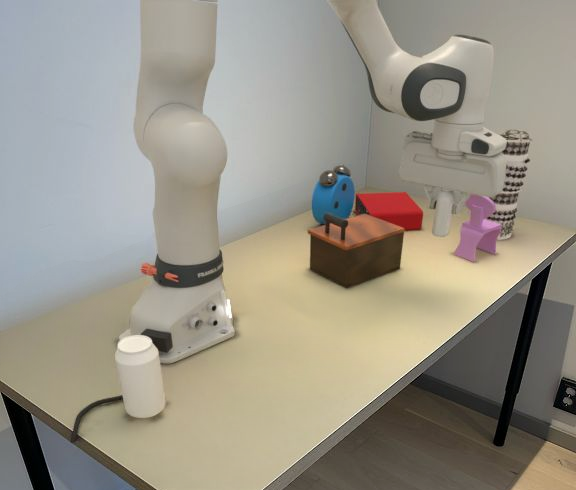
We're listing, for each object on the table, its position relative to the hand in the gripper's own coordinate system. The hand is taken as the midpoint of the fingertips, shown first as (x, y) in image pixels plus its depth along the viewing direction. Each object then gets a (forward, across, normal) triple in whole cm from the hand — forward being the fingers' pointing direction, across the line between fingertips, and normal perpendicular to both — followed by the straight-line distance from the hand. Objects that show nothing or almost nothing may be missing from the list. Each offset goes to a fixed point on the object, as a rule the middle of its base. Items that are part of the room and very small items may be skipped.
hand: (444, 210), depth 116 cm
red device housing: (+17, -29, +34) cm, 47 cm away
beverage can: (+18, -18, -66) cm, 70 cm away
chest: (+17, -19, 0) cm, 25 cm away
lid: (+8, -19, -1) cm, 21 cm away
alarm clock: (+17, -39, +22) cm, 48 cm away
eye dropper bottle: (+5, 0, 0) cm, 5 cm away
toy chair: (+17, 0, +24) cm, 30 cm away
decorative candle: (+17, -1, +40) cm, 44 cm away
